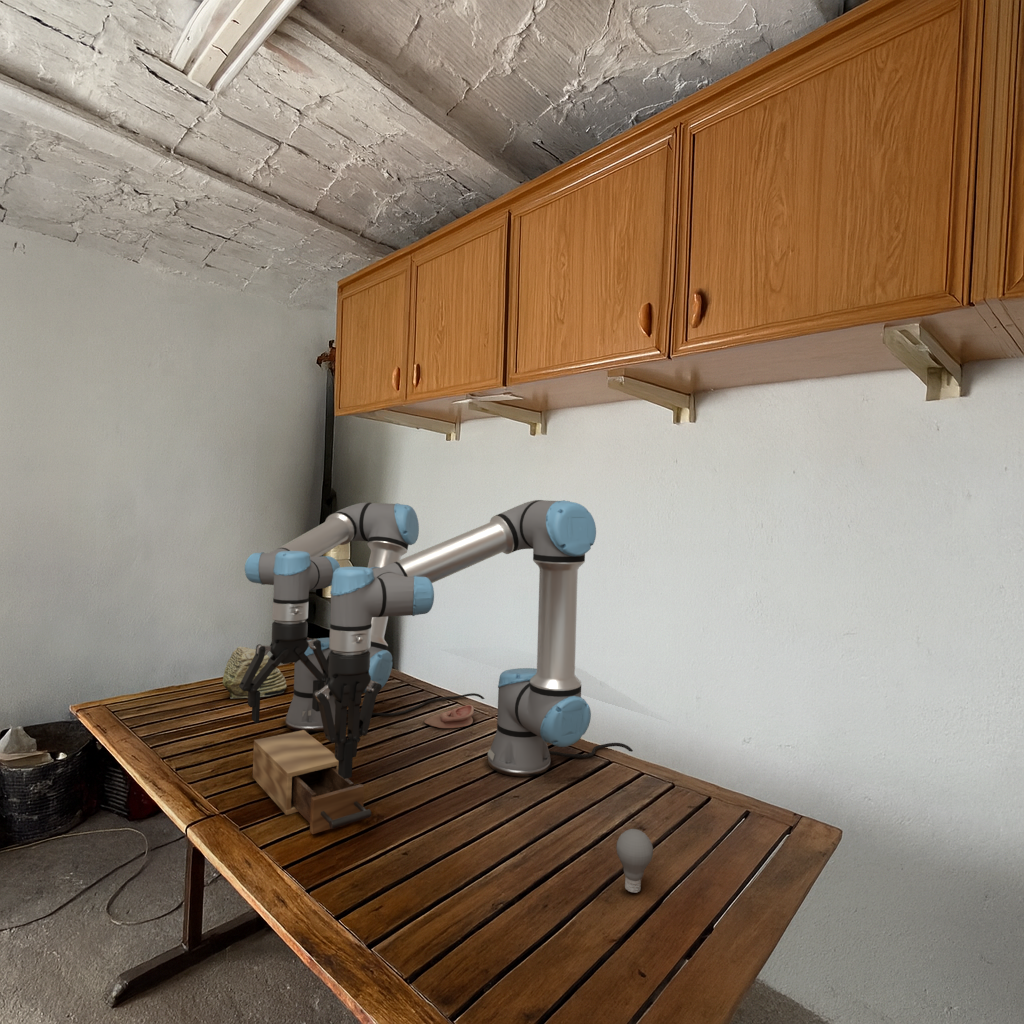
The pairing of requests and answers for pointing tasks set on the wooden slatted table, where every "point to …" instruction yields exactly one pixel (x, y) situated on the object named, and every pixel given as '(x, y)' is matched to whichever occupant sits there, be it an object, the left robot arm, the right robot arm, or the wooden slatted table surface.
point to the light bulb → (634, 857)
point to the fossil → (238, 669)
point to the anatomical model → (452, 718)
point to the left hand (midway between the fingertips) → (286, 715)
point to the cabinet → (288, 764)
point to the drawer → (328, 799)
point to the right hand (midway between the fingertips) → (344, 775)
